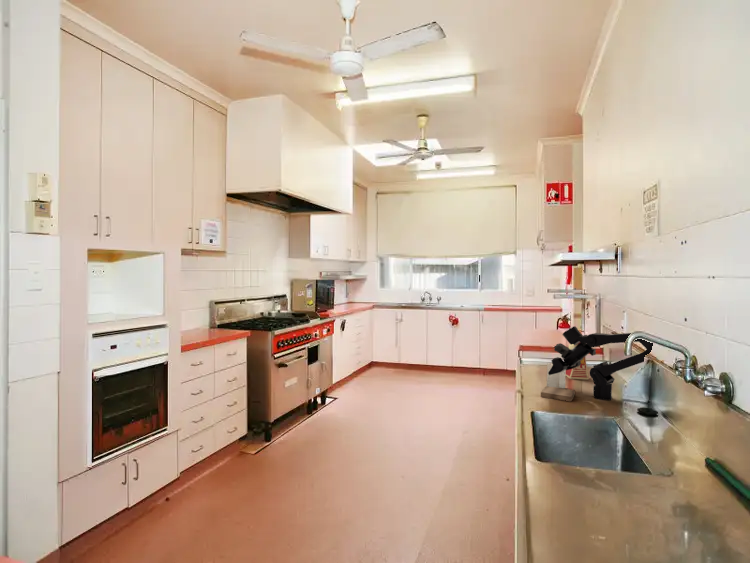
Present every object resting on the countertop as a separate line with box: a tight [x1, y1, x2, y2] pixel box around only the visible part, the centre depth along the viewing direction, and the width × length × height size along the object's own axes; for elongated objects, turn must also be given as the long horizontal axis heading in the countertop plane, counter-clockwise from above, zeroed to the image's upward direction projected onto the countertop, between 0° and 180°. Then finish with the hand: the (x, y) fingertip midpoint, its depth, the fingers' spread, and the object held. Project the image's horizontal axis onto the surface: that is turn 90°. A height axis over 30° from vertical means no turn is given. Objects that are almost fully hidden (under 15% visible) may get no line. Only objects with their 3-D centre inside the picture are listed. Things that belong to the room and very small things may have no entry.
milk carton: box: [566, 342, 589, 380], centre depth 228 cm, size 9×9×20 cm
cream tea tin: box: [546, 362, 567, 389], centre depth 206 cm, size 6×6×11 cm
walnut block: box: [540, 385, 576, 402], centre depth 192 cm, size 12×12×2 cm
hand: (553, 372), depth 207 cm, fingers open, 9 cm apart
